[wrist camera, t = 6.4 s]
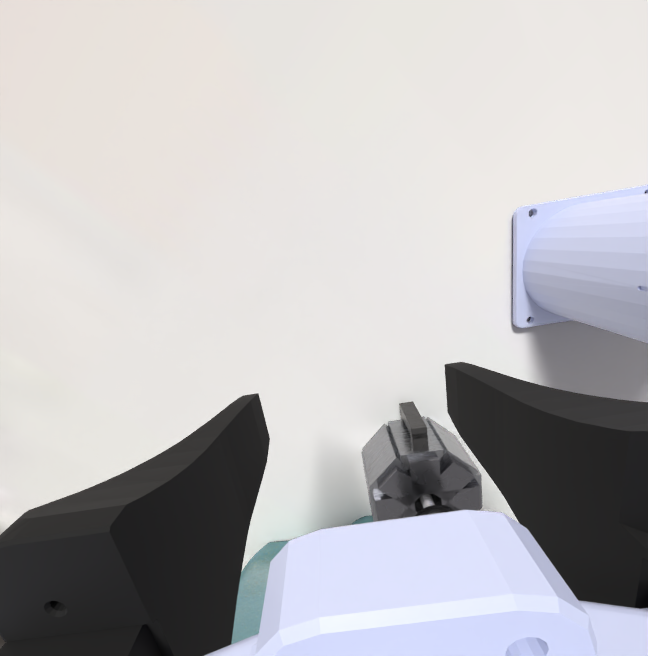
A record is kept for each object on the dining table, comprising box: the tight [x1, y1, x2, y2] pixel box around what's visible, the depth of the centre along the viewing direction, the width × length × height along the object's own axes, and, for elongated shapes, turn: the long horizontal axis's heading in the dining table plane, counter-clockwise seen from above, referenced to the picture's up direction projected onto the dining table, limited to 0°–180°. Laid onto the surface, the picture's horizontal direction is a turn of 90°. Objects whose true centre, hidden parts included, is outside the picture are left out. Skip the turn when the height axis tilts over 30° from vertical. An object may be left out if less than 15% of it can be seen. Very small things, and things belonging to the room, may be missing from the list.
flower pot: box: [231, 541, 288, 644], centre depth 23 cm, size 9×9×9 cm
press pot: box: [362, 402, 482, 522], centre depth 22 cm, size 8×9×4 cm
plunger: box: [415, 494, 455, 516], centre depth 21 cm, size 3×3×6 cm
